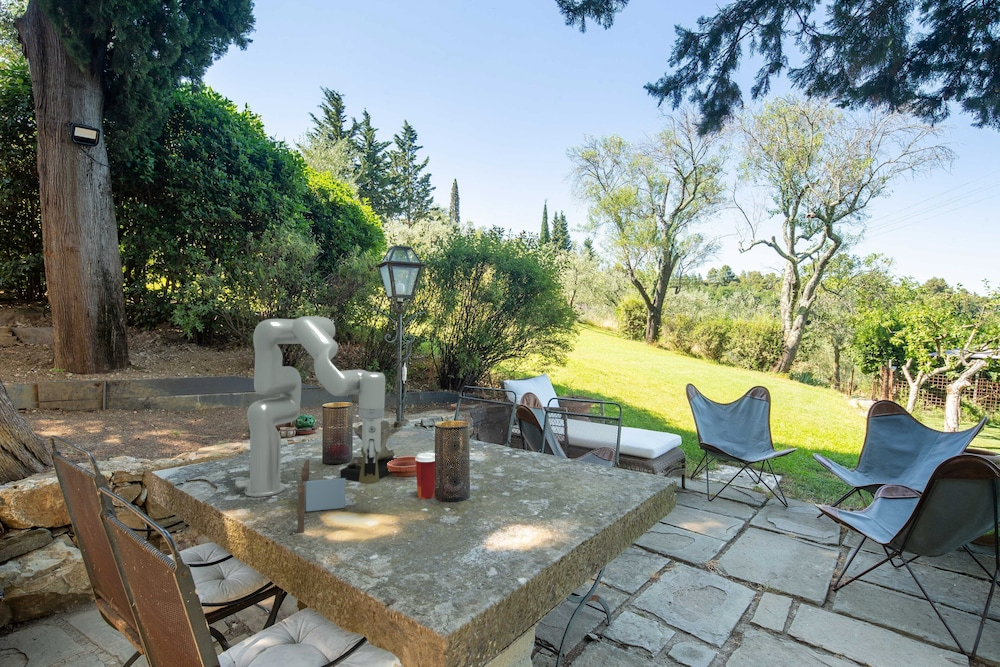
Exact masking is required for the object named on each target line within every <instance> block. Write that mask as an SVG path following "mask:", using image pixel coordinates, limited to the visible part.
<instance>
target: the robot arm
mask: <svg viewBox="0 0 1000 667" xmlns="http://www.w3.org/2000/svg"><path fill="white" fill-rule="evenodd" d="M335 335H336V326H335V324H334V323H333V321H332V320H331V319H330V318H328V317H324V316H311V315H308V316H307V315H306V316H300V317H298V318H296V319H293V318H291V319H289V318H269V319H268V318H267V319H264V320H262V321H260V322H259V323H258V324H257V325H256V327H255V329H254V331H253V337H252V338H253V347H254V358H255V359H254V371H253V372H254V373H253V374H254V376H253V387H254V391H255V393H256V394H258V395H260V396H273V395H274V396H275V395H279V397H270V398H264V399H263V398H262V399H258V400H256V401H254V402H252V403H251V404H250V405H249V407H248V409H247V411H246V412H247V413H246V415H247V416H246V417H247V421H248V428H249V437H250V438H249V441H250V443H249V478H246V479H245V480H236V481H235V483H234V484H235V485H234V486H235V487H236V488H238V489H240V488H244V494H245V496H248V497H255V498H256V497H257V498H259V497H260V498H261V497H269V496H273V495H276V494H280V493H282V492H283V491H284V490H286V483H285V484H284V483H283V482H281V466H282V465H281V461H282V460H281V459H282V458H281V456H282V449H281V448H282V439H281V438H282V436H281V435H280V432H279V430H278V429H277V428H276V426H279V425H283V424H284V425H285V424H288V423H292V422H295V420H297V419H298V417H299V414H300V411H301V399H302V377H301V374H300V372H299V371H298V369H297V368H295V367H293V366H289V365H287V366H284V365H283V354H282V350H281V347H280V346H278V345H288V344H289V345H291V344H292V345H295V344H298V345H299V344H300V345H301V346H302V347H303V348H304V350H306V352H307V353H308V354H309V355H310V356H311V358H313V360H314V362H313V370H314V375H315V378H316V379H317V381H318V382H319V384H320V385H321V386H322V387H323V388H324V389H325V391H327V392H328V393H329V394H331V395H332V396H335V397H345V396H351V395H358V416H357V417H358V420H361V421H362V422H361V425H362V440H361V441H362V442H361V443H362V446H363V451H364V453H366V463H365V464H364V476H367V473H368V474H373V476H375V469H376V462H375V449H376V451H377V452H378V453H380V451H381V421H382V420H384V419H385V400H386V399H385V397H386V393H385V392H386V376H385V374H384V373H382V372H379V371H376V372H375V371H367V370H366V369H348V370H347V369H346V370H339V369H338V368H337V367H336V366H335V365H334V363H333V362H332V361H331V360H332V359H333V358H334V357H335V356H336V355H337V353H338V350H339V345H338V342H337V341H336V340H334V339H333V338H334V337H335ZM367 448H368V450H369V452H367ZM368 455H369V456H368Z"/></svg>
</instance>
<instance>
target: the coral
mask: <svg viewBox="0 0 1000 667" xmlns="http://www.w3.org/2000/svg"><path fill="white" fill-rule="evenodd" d="M409 423H410V419H407V418H402V421H401V420H399V421H397V420H395V421H394V422H393V423H391V424H390V423H389V421H387V420H384V419H382V420H381V451H380V453H378V454H377V463H378V473H379V480H381V479H383V478H385V477H387V476H389V475H392V474H393V472H389V471H388V468H387V463H388V462H389V461H391V460H394V459H397V458H398V457H395V452H394V450H393V449H390V450H388V448H387V442H388V440H389V439H390V437H391V436H393V435H394V434H396V433H399V432H400V431H402V429H403V427H404V426H405V425H407V424H409ZM353 432H354V433H355V435H356V436H358V438H359V439H360V440H361V441H362V424H360V425H358V426H357V428H355V427H353ZM362 459H363V456H353V457H351V460H350V462H349V463H348V464H347V465H346V467H343V468H342V469H340V477H339V478H346V481H351V482H356V483H357V482H358V483H360V482H359V476H360V470H361V465H362Z"/></svg>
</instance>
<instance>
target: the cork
mask: <svg viewBox="0 0 1000 667" xmlns="http://www.w3.org/2000/svg"><path fill="white" fill-rule="evenodd" d="M360 452H361V455H362V457H363V459H362V465H361V470H360V476H359V482H358V483H361V484H363V485H370V484H375V483H378V482H380V479H379V473H378V463H377V454H378V452H377V451H376V449H375V462H376V469H375V476H373V474H368V473H367V476H364V464H365V463H366V453H364V451H363V445H362V446H361V451H360ZM367 452H369V450H368V448H367ZM368 456H369V455H368Z"/></svg>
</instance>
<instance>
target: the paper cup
mask: <svg viewBox="0 0 1000 667" xmlns="http://www.w3.org/2000/svg"><path fill="white" fill-rule="evenodd" d="M435 454H436V453H434V452H422V453H421V452H420V453H417V454H416V456H415V459H414V460H415V464H416V465H415V468H416V489H417V490H416V493H417V498H418V499H422V500H429V499H432V498H434V497H435V493H434V491H436V480H435Z"/></svg>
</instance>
